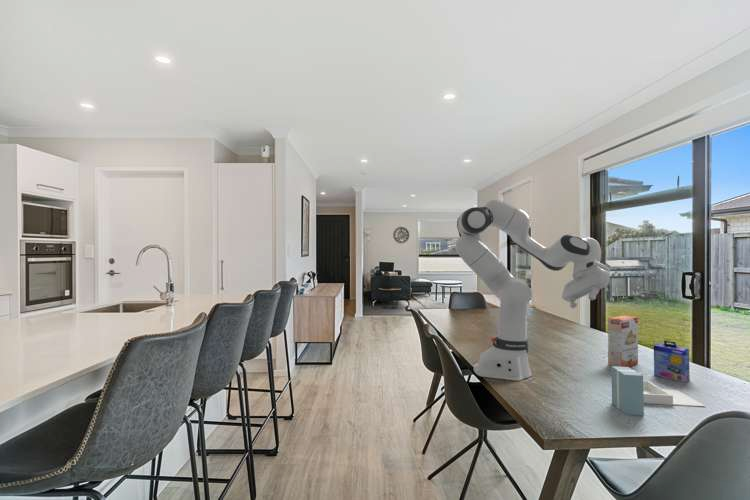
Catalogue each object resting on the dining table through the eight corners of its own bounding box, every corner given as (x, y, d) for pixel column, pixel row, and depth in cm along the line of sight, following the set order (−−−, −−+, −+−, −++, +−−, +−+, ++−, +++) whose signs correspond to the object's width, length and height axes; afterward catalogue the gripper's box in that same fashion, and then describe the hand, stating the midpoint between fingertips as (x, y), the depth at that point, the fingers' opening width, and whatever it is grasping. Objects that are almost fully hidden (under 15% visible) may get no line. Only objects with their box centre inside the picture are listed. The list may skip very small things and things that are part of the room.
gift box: (625, 414, 104) (624, 374, 104) (611, 403, 112) (611, 366, 112) (644, 415, 103) (643, 375, 103) (629, 404, 111) (628, 366, 111)
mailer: (638, 402, 112) (638, 393, 112) (617, 387, 125) (617, 379, 125) (705, 407, 108) (705, 397, 108) (677, 390, 121) (676, 382, 121)
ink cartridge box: (653, 375, 137) (652, 339, 137) (658, 372, 140) (657, 337, 140) (685, 382, 129) (684, 344, 129) (690, 379, 132) (689, 342, 132)
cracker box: (623, 369, 144) (622, 319, 144) (607, 365, 149) (606, 317, 149) (639, 364, 151) (638, 316, 151) (624, 360, 156) (623, 314, 156)
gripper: (560, 279, 143) (555, 307, 136) (599, 258, 126) (595, 289, 119) (573, 286, 143) (569, 315, 136) (614, 267, 126) (612, 298, 119)
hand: (582, 303), depth 127 cm, fingers open, 8 cm apart
